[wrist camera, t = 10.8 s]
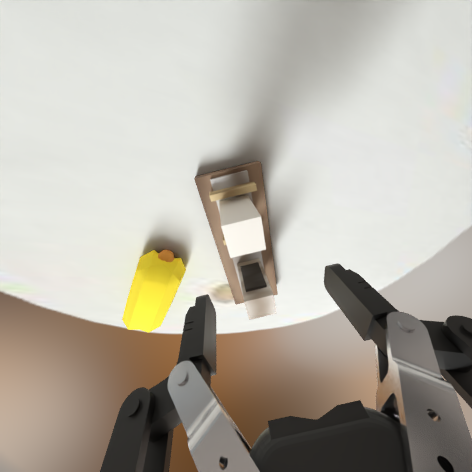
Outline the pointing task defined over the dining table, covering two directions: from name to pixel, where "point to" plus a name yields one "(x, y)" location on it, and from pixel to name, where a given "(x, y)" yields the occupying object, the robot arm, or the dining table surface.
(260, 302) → the wooden ladder shelf
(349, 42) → the dining table surface
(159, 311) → the yellow faceted pepper
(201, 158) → the dining table surface
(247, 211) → the loose white rectangular block
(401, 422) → the robot arm
